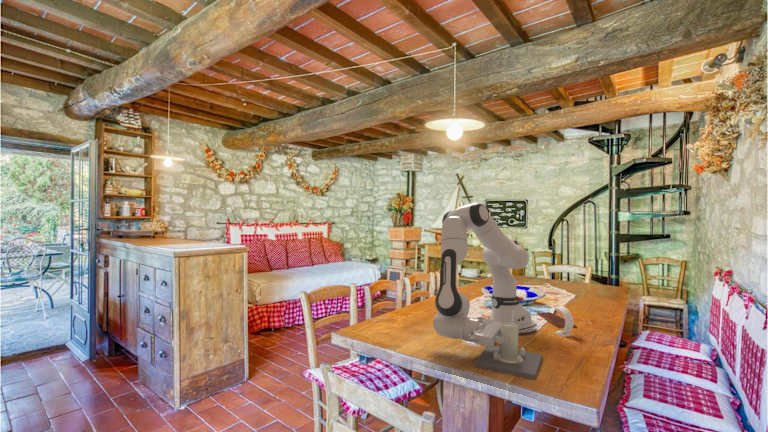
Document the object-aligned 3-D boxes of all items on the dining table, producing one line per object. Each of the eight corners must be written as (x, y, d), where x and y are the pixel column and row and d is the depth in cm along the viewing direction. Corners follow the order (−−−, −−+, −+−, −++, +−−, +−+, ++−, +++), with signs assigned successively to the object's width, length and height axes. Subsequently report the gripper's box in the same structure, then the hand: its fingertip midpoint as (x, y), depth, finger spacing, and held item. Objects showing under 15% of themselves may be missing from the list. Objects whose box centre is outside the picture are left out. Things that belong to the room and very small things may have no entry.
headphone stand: (561, 332, 166) (562, 306, 166) (573, 336, 161) (573, 309, 161) (554, 333, 164) (555, 307, 164) (566, 337, 159) (566, 310, 159)
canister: (510, 353, 137) (510, 321, 136) (521, 359, 131) (521, 326, 131) (497, 355, 135) (497, 323, 134) (508, 362, 129) (508, 328, 129)
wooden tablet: (578, 329, 173) (578, 325, 173) (557, 329, 173) (557, 325, 173) (552, 313, 199) (552, 310, 199) (534, 313, 199) (534, 310, 199)
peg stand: (488, 348, 146) (488, 337, 146) (542, 358, 136) (542, 346, 136) (474, 366, 129) (474, 354, 129) (534, 379, 119) (535, 365, 119)
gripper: (466, 329, 130) (505, 336, 123) (481, 315, 148) (516, 320, 141) (466, 347, 130) (505, 354, 123) (481, 331, 148) (516, 336, 141)
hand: (511, 336), depth 132 cm, fingers open, 8 cm apart
